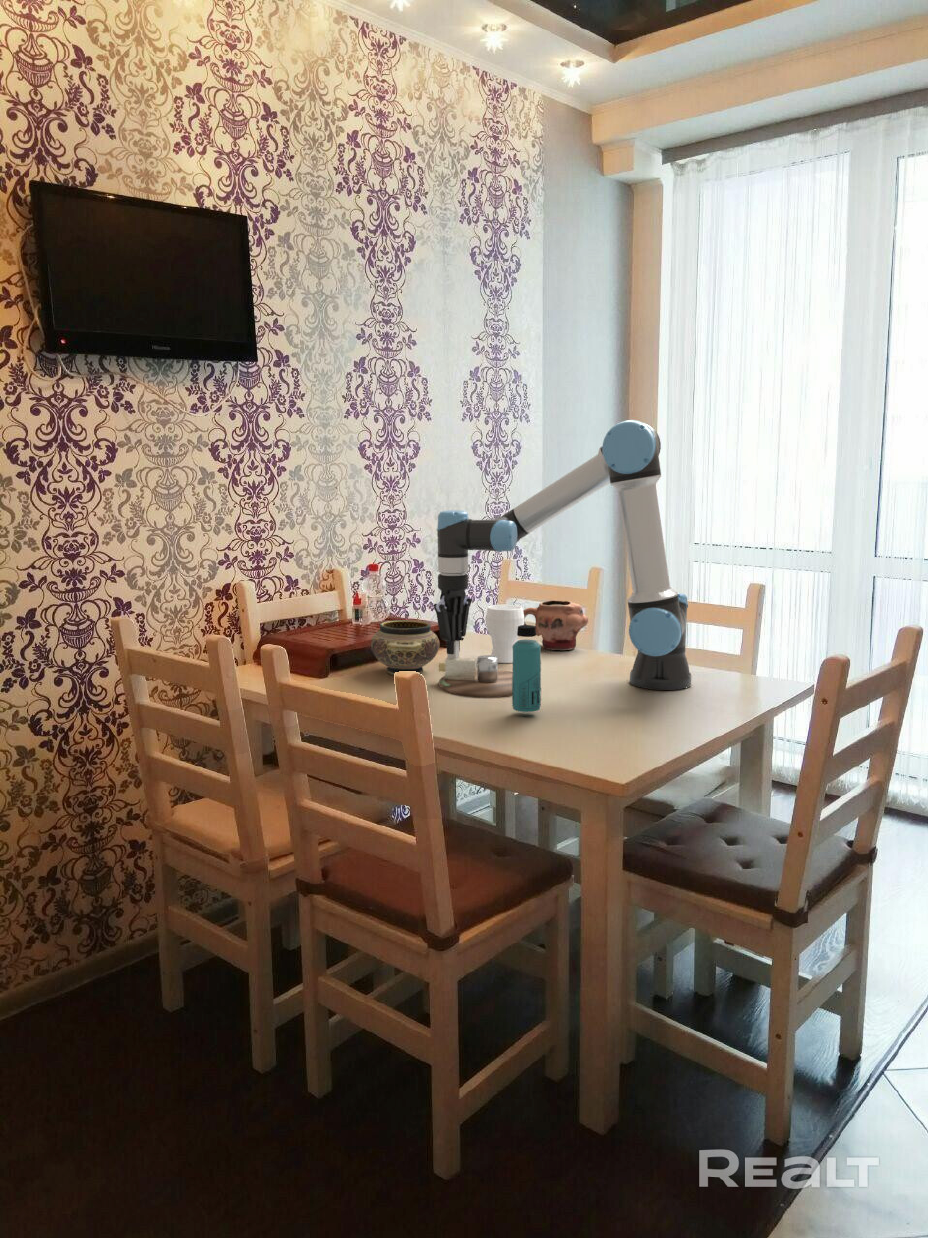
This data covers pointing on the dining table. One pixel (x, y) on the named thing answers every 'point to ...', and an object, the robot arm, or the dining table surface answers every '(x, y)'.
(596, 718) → the dining table surface
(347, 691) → the dining table surface
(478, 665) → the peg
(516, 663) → the beverage bottle
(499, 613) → the cup
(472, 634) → the dining table surface
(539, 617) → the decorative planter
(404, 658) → the ceramic bowl
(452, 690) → the round wooden board
